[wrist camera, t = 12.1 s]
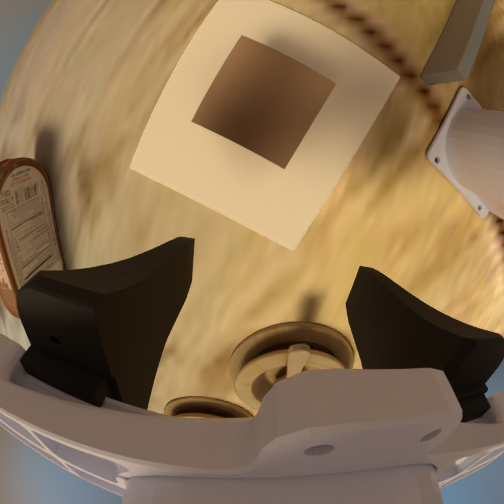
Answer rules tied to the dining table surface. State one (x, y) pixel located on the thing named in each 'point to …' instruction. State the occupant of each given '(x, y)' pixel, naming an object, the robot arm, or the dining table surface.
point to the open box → (458, 42)
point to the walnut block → (263, 101)
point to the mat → (243, 160)
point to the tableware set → (269, 367)
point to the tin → (25, 227)
